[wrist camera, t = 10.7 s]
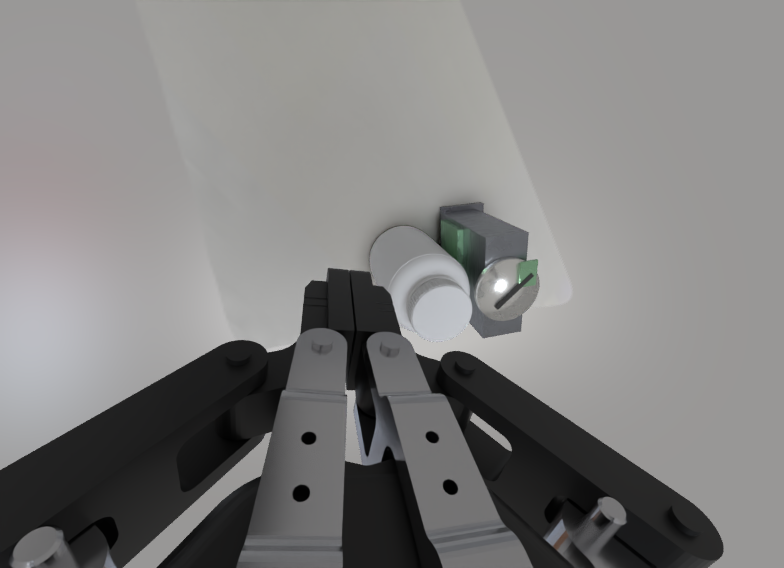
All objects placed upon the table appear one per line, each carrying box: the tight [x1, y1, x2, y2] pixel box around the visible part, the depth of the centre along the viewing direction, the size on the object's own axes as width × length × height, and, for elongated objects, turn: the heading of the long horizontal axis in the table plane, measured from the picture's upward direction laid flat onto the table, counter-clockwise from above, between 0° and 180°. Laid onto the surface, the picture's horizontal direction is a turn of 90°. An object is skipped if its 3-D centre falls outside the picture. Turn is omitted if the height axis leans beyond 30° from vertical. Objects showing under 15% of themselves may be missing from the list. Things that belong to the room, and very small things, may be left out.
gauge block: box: [440, 202, 539, 338], centre depth 38 cm, size 6×11×13 cm, turn 4°
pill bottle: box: [369, 226, 472, 342], centre depth 36 cm, size 8×8×15 cm
